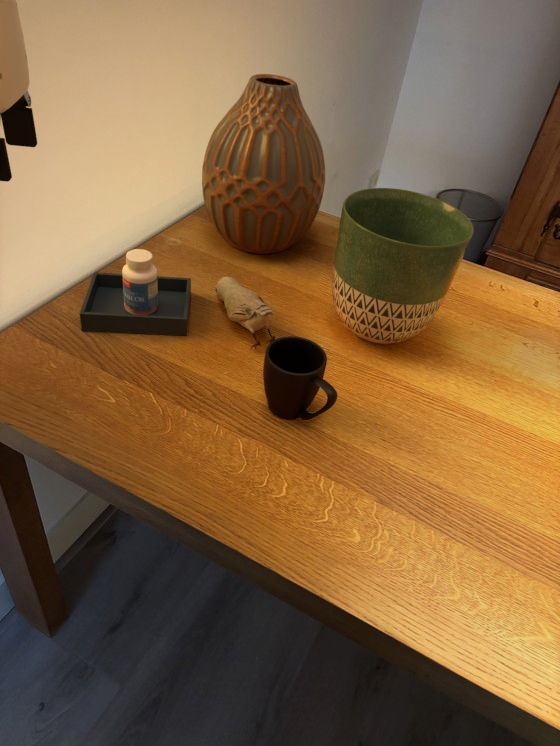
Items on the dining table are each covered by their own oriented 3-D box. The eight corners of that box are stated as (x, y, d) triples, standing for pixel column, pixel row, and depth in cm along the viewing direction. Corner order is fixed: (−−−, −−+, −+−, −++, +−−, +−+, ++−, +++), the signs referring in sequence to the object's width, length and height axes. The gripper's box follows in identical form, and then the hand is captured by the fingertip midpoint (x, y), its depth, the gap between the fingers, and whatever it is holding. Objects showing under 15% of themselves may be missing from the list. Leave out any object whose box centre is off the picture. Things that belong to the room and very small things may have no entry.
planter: (386, 292, 105) (417, 183, 91) (453, 352, 92) (502, 237, 78) (298, 310, 96) (318, 193, 83) (359, 378, 84) (395, 255, 70)
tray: (81, 331, 85) (79, 313, 83) (95, 288, 94) (93, 272, 92) (186, 336, 87) (187, 319, 85) (190, 294, 96) (190, 278, 94)
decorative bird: (232, 296, 97) (235, 258, 92) (280, 347, 88) (286, 308, 83) (205, 302, 95) (207, 264, 90) (252, 355, 85) (256, 316, 80)
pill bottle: (117, 310, 89) (113, 257, 82) (136, 294, 93) (133, 242, 86) (147, 320, 88) (144, 267, 81) (164, 304, 92) (163, 252, 85)
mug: (297, 454, 71) (308, 401, 65) (247, 398, 78) (253, 345, 72) (344, 431, 75) (359, 380, 69) (293, 380, 82) (302, 329, 76)
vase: (325, 229, 122) (353, 80, 102) (295, 279, 104) (322, 109, 84) (226, 204, 126) (235, 55, 106) (180, 248, 108) (181, 79, 88)
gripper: (-41, -56, 52) (-3, 131, 63) (-129, -40, 39) (-62, 191, 50) (41, -44, 53) (64, 137, 64) (-17, -25, 40) (24, 198, 51)
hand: (9, 161), depth 57 cm, fingers open, 9 cm apart
